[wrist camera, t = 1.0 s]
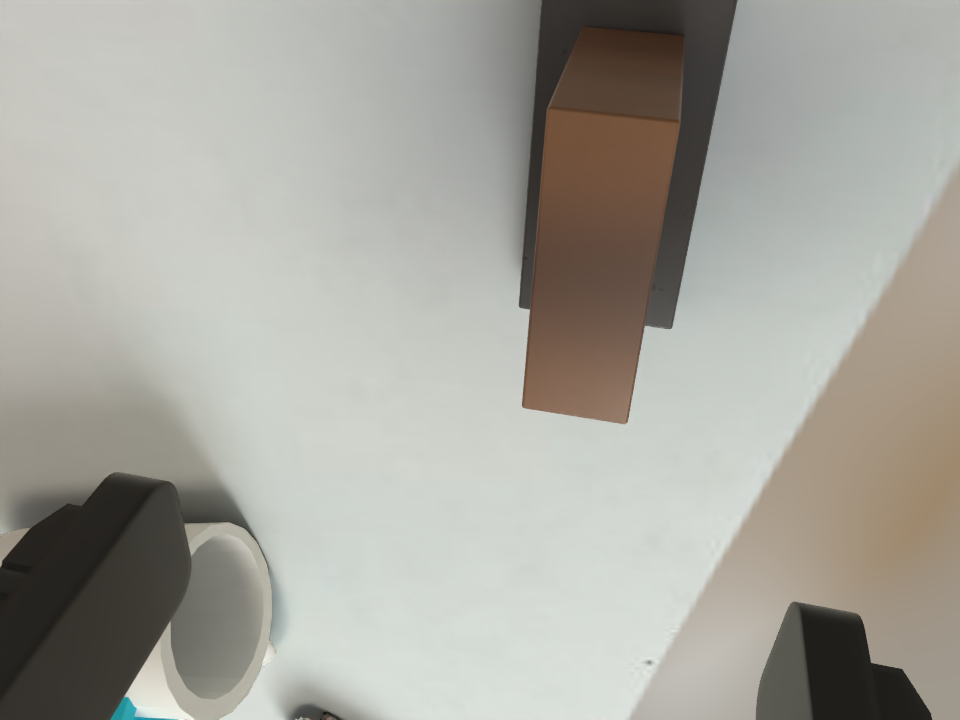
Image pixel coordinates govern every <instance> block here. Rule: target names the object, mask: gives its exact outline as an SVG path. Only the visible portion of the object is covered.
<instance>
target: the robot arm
mask: <svg viewBox="0 0 960 720" xmlns="http://www.w3.org/2000/svg"><path fill="white" fill-rule="evenodd" d="M191 568H192V560H191V553H190V549H189V544H188V540H187V535H186V531H185V526H184V521H183V517H182V512H181V508H180V503H179V499H178V494H177V491H176V488H175V486H174V485H173V484H172V483H171V482H168V481H163V480H157V479H152V478H147V477H141V476H136V475H131V474H125V473H120V472H116V473H113V474H111V475H109V476H108V477H106V478H105V479H104V480H103V481H102V482H101V484H100V485H99V486H98V487H97V489H96V490H95V491H94V492H93V493H92V495H91V496H90V497H89V498H88V500H87V501H86V502H85V503H84V504H83V506H77V505H72V504H67V505H65V506H64V507H62V508H61V509H59V510H58V511H56V512H55V513H53V514H52V515H50V516H49V517H47V518H45V519H44V520H42V521H41V522H39V523H38V524H36V525H35V526H33V527H32V528H30V529H29V530H28V531H27V533H26V534H25V535H24V536H23V537H22V538H21V540H20V541H19V542H18V543H17V544H16V545H15V546H14V548H13V549H12V550H11V551H10V552H9V553H8V555H7V556H6V557H5V558H4V559H3V560H2V565H1V567H0V720H110V719H111V718H112V716H113V714H114V713H115V711H116V709H117V708H118V706H119V704H120V703H121V701H122V700H123V698H124V696H125V695H126V693H127V691H128V690H129V688H130V686H131V685H132V683H133V682H134V680H135V678H136V677H137V675H138V673H139V672H140V670H141V668H142V667H143V665H144V663H145V662H146V660H147V659H148V657H149V655H150V654H151V652H152V650H153V649H154V647H155V645H156V644H157V642H158V641H159V639H160V637H161V636H162V634H163V632H164V631H165V629H166V627H167V626H168V624H169V622H170V621H171V619H172V618H173V616H174V614H175V613H176V611H177V609H178V608H179V606H180V604H181V602H182V600H183V598H184V596H185V594H186V591H187V588H188V585H189V581H190V576H191ZM756 720H932V717H931V713H930V712H929V710H928V708H927V707H926V705H925V704H924V702H923V700H922V699H921V698H920V696H919V694H918V693H917V691H916V690H915V688H914V687H913V685H912V684H911V682H910V681H909V679H908V677H907V676H906V674H905V673H904V671H903V670H902V669H899V668H894V667H888V666H883V665H878V664H873V663H871V660H870V655H869V650H868V644H867V639H866V634H865V628H864V624H863V622H862V619H861V617H860V616H859V615H858V614H856V613H852V612H847V611H841V610H836V609H831V608H826V607H820V606H815V605H810V604H805V603H798V602H792V603H791V604H790V606H789V607H788V610H787V612H786V614H785V617H784V620H783V622H782V625H781V628H780V630H779V632H778V635H777V638H776V640H775V643H774V646H773V648H772V650H771V653H770V656H769V658H768V661H767V663H766V666H765V668H764V671H763V674H762V677H761V681H760V685H759V690H758V697H757V707H756Z"/></svg>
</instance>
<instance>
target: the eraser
mask: <svg viewBox="0 0 960 720" xmlns="http://www.w3.org/2000/svg"><path fill="white" fill-rule="evenodd" d="M736 4H737V0H542V3H541V16H540V30H539V43H538V56H537V70H536V83H535V96H534V110H533V123H532V136H531V150H530V163H529V176H528V190H527V203H526V216H525V230H524V243H523V256H522V270H521V283H520V296H519V307H520V308H524V309H530V316H529V328H528V340H527V352H526V364H525V376H524V388H523V400H522V406H523V408H527V409H533V410H539V411H545V412H552V413H558V414H564V415H571V416H577V417H583V418H590V419H596V420H602V421H608V422H615V423H621V424H626V423H627V422H628V417H629V411H630V406H631V400H632V394H633V389H634V383H635V378H636V372H637V366H638V361H639V355H640V349H641V344H642V338H643V332H644V327H645V326H651V327H658V328H665V329H671V328H672V326H673V321H674V316H675V311H676V306H677V301H678V296H679V291H680V286H681V281H682V276H683V270H684V265H685V260H686V255H687V250H688V245H689V240H690V235H691V230H692V225H693V220H694V215H695V210H696V205H697V200H698V195H699V190H700V185H701V180H702V175H703V170H704V165H705V160H706V155H707V150H708V145H709V140H710V135H711V130H712V125H713V120H714V115H715V110H716V105H717V100H718V95H719V90H720V85H721V80H722V75H723V70H724V65H725V60H726V55H727V50H728V44H729V39H730V34H731V29H732V24H733V19H734V14H735V9H736Z"/></svg>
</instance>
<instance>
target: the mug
mask: <svg viewBox="0 0 960 720" xmlns="http://www.w3.org/2000/svg"><path fill="white" fill-rule="evenodd" d="M184 526H185V531H186V535H187V540H188V544H189V549H190V553H191V560H192V568H191V576H190V581H189V585H188V588H187V591H186V594H185V596H184V598H183V600H182V602H181V604H180V606H179V608H178V609H177V611H176V613H175V614H174V616H173V618H172V619H171V621H170V622H169V624H168V626H167V627H166V629H165V631H164V632H163V634H162V636H161V637H160V639H159V641H158V642H157V644H156V645H155V647H154V649H153V650H152V652H151V654H150V655H149V657H148V659H147V660H146V662H145V663H144V665H143V667H142V668H141V670H140V672H139V673H138V675H137V677H136V678H135V680H134V682H133V683H132V685H131V686H130V688H129V690H128V691H127V693H126V695H125V696H124V698H123V700H122V701H121V703H120V704H119V706H118V708H117V709H116V711H115V713H114V714H113V716H112V718H111V719H110V720H178V719H183V720H218V719H220V718H221V717H223V716H225V715H227V714H229V713H231V712H233V710H234V709H235V708H236V707H237V706H238V705H239V704H240V703H241V702H242V700H243V699H244V698H245V697H246V696H247V695H248V693H249V691H250V689H251V687H252V685H253V684H254V682H255V680H256V678H257V676H258V674H259V672H260V670H261V666H264V665H266V664H268V663H269V662H270V661H271V660H272V659H273V658H274V657H275V655H276V650H275V647H274V645H273V643H272V642H271V641H270V640H269V635H270V628H271V621H272V588H271V583H270V578H269V573H268V568H267V563H266V561H265V559H264V557H263V554H262V552H261V550H260V548H259V545H258V543H257V542H256V541H255V540H254V539H253V538H252V536H251V535H250V534H249V533H248V532H247V531H246V530H245V529H244V528H242V527H239V526H237V525H234V524H232V523H230V522H221V523H184ZM29 529H30V528H24V529H18V530H15V531H12V532H8V533H6V534H3V535H1V536H0V567H1V565H2V560H3V559H4V558H5V557H6V556H7V555H8V553H9V552H10V551H11V550H12V549H13V548H14V546H15V545H16V544H17V543H18V542H19V541H20V540H21V538H22V537H23V536H24V535H25V534H26V533H27V531H28V530H29Z"/></svg>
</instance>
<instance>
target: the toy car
mask: <svg viewBox="0 0 960 720" xmlns="http://www.w3.org/2000/svg"><path fill="white" fill-rule="evenodd" d="M326 713H328V714H326ZM324 714H325V716H322V717H321V719H320V720H339V719H338V718H335V717H334V716H333V715H332V714H330V713H329V712H324ZM294 720H297V719H296V718H295V719H294ZM298 720H313V719H311V718H302V717H300V719H298Z"/></svg>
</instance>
